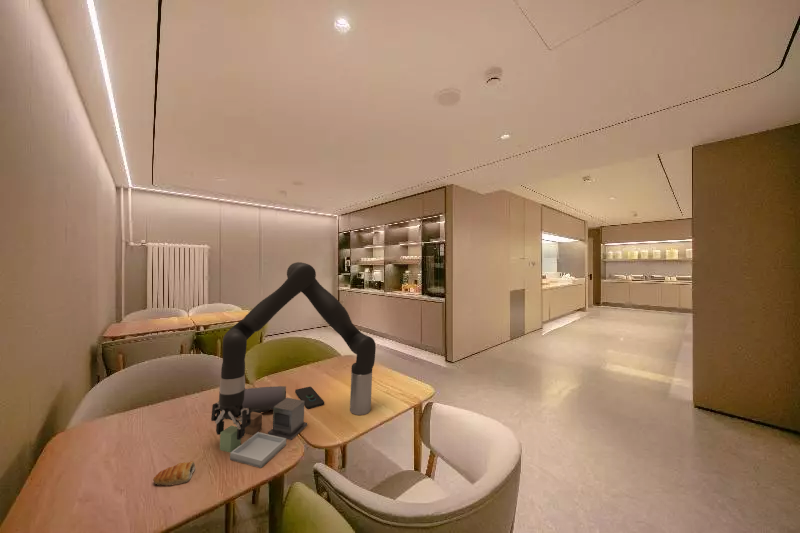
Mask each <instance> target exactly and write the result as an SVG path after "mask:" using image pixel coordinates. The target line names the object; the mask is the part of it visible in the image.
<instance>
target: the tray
mask: <svg viewBox="0 0 800 533" xmlns="http://www.w3.org/2000/svg"><path fill="white" fill-rule="evenodd" d="M285 446H287V439H286V438H282V437H278V436H273V435H269V434H268V433H265V432H260V431H258V432H257V433H256V434H254V435H253V436H252V435H251V436H250V437H249V438H248V439H246V440H245V441H244V442H243V443H241V445H240V446H238V447H237V448H236V449H234V450H233V451H232V452H229V454H230V455H229V460H230V461H233V462H236V463H241V464H245V465H248V466H252V467H256V468H259V469H262V468H264V466H265V465H267V463H269V462H270V461H271V459H273V458H274V457H275V456H276V455H277V454H278V453H279V452H280V451H282V449H284V448H285Z"/></svg>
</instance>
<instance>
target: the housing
mask: <svg viewBox="0 0 800 533" xmlns="http://www.w3.org/2000/svg"><path fill="white" fill-rule="evenodd" d="M304 404H305V401H302V400H300V399H296V398H290V397H286V399H284V400H283V401H281V402H280V403H279V404H277V405H276V406H274V407H273V409H272V428H271V429H270V430H268V431H267V434H269V435H273V436H278V437H282V438H286V440H291V441H292V440H293V439H294V438H296V437H297V435H299V434H300V433H301V432H302V431H303V430H304V429H305V428H306V427H308V422H305V406H304Z"/></svg>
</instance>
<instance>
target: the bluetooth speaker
mask: <svg viewBox="0 0 800 533" xmlns="http://www.w3.org/2000/svg"><path fill="white" fill-rule="evenodd" d="M286 398H287V386H286V385H285V386H283V385H282V386H281V385H279V386H278V385H277V386H261V387H260V386H259V387H251V388H250V387H249V388H245V394H244V401H243V403H242V406H243V408H248V407H250V408H251V412H257V413H261V412H264V413H268V412H267V411H269V412H270V410H273V407H274V406H276V405H277V404H279V403H280V402H281V401H283V400H284V399H286Z"/></svg>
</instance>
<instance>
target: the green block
mask: <svg viewBox="0 0 800 533" xmlns="http://www.w3.org/2000/svg"><path fill="white" fill-rule="evenodd" d="M237 429H238V428H237V426H236V425H229V426H227V428H224V430H223V431H222V432H220V435H219V451H223V452H226V453H231V452H232V451H233V450H235V449H236V448H237V447H239V446H240V445H241V444H242V438H241V439H240V440H238V439H237Z"/></svg>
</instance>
